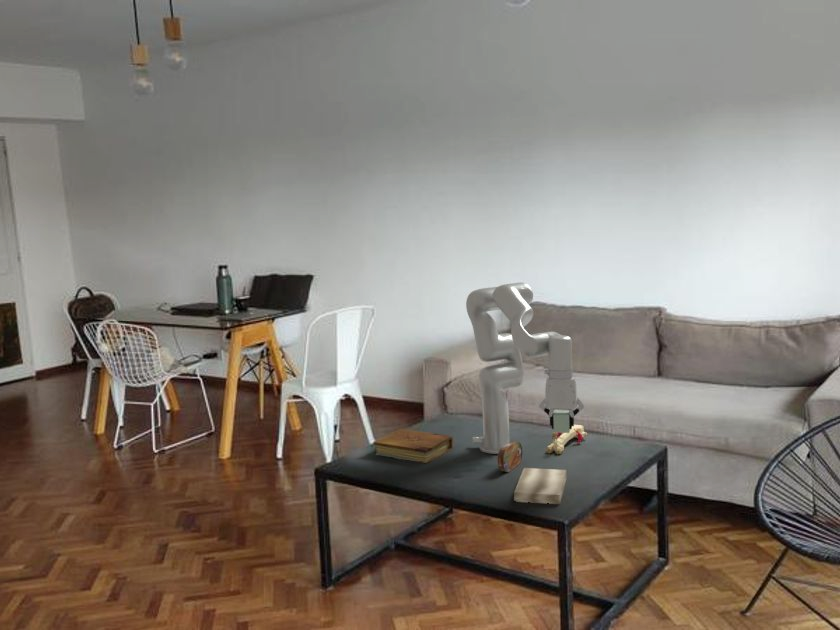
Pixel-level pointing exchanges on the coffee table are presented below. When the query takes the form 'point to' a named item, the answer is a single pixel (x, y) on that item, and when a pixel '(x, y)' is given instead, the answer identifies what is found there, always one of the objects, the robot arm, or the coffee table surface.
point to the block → (561, 421)
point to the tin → (509, 456)
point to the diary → (414, 445)
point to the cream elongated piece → (566, 438)
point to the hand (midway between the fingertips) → (562, 427)
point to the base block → (540, 486)
